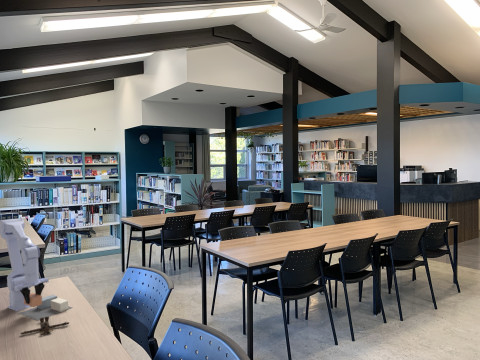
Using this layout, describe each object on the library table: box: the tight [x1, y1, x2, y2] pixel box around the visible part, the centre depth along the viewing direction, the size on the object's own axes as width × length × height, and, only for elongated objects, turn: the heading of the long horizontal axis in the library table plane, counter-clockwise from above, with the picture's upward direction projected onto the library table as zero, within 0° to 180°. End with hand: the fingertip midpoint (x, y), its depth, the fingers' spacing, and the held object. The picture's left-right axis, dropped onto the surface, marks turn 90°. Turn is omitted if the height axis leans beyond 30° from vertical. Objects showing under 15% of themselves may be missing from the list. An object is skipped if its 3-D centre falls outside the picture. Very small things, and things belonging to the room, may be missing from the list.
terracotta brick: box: [24, 292, 43, 308], centre depth 168 cm, size 8×4×4 cm, turn 57°
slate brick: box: [36, 294, 58, 310], centre depth 178 cm, size 8×4×4 cm, turn 147°
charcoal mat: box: [17, 305, 73, 322], centre depth 173 cm, size 17×17×1 cm
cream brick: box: [51, 297, 69, 313], centre depth 174 cm, size 8×4×4 cm, turn 57°
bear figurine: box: [20, 316, 70, 336], centre depth 154 cm, size 18×4×14 cm
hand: (32, 301), depth 168 cm, fingers closed on terracotta brick, 4 cm apart
